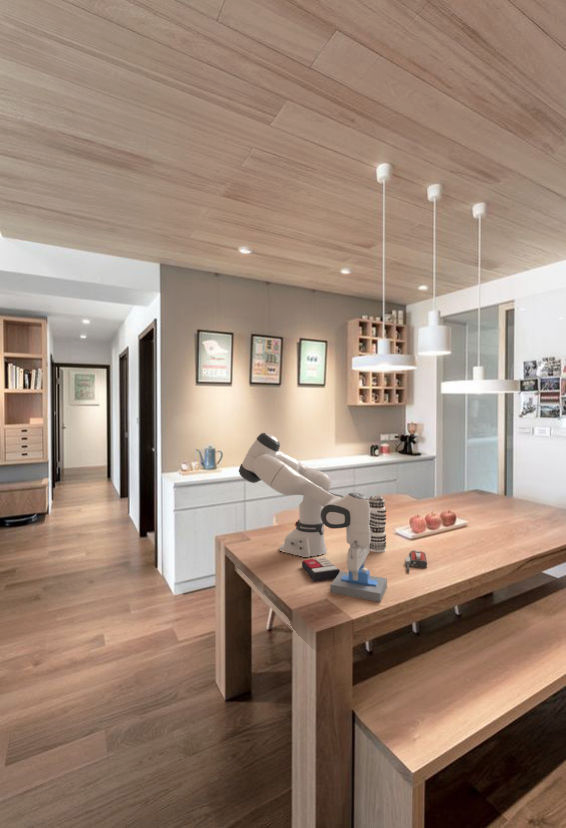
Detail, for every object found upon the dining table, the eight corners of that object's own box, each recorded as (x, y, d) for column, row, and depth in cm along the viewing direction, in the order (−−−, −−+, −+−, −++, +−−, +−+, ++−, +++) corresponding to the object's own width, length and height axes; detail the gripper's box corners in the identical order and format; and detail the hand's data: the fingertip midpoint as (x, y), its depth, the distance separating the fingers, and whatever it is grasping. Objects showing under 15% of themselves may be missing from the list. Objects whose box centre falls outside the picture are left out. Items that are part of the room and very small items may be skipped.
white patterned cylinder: (387, 546, 189) (386, 495, 189) (386, 553, 180) (386, 499, 180) (367, 544, 192) (367, 494, 191) (366, 551, 183) (365, 498, 182)
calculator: (325, 556, 170) (339, 567, 155) (325, 566, 169) (340, 578, 155) (301, 559, 167) (313, 571, 152) (301, 569, 166) (314, 582, 152)
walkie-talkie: (405, 555, 178) (405, 574, 159) (404, 546, 178) (405, 563, 159) (425, 557, 175) (428, 576, 156) (425, 547, 175) (428, 565, 156)
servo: (341, 588, 146) (340, 567, 146) (343, 584, 149) (343, 563, 149) (376, 594, 141) (375, 572, 141) (377, 590, 144) (377, 568, 144)
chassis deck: (330, 592, 143) (330, 584, 143) (340, 578, 155) (340, 570, 155) (380, 602, 135) (380, 593, 135) (387, 586, 147) (386, 578, 147)
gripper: (360, 547, 134) (360, 587, 134) (372, 530, 153) (373, 565, 153) (342, 545, 137) (343, 584, 137) (356, 528, 155) (357, 563, 155)
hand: (358, 574), depth 145 cm, fingers open, 8 cm apart
